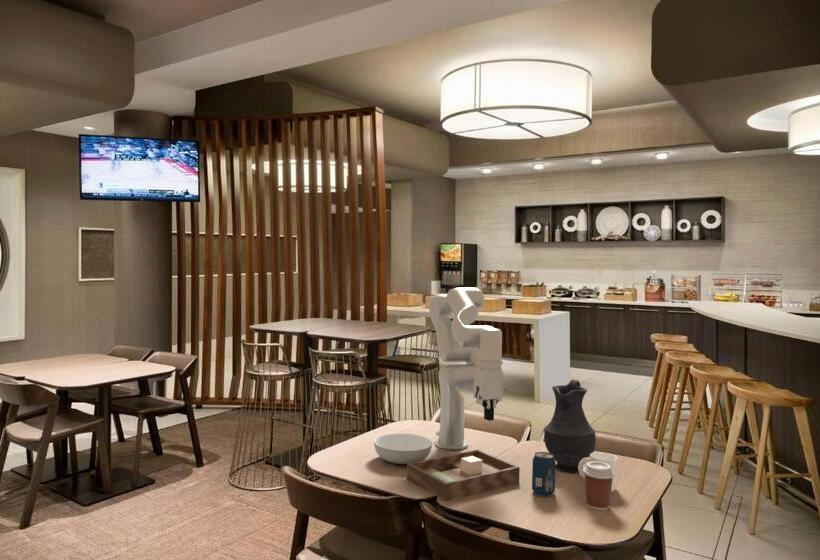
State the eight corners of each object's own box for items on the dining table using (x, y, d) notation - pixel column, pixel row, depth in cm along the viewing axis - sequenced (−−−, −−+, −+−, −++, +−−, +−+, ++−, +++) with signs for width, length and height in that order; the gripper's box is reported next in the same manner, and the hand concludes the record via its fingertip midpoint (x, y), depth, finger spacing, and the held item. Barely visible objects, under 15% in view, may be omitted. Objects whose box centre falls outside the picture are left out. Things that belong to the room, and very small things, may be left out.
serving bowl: (408, 474, 192) (408, 454, 192) (361, 461, 205) (362, 442, 205) (443, 459, 209) (443, 440, 208) (397, 447, 221) (398, 429, 221)
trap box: (477, 463, 204) (477, 449, 204) (519, 482, 187) (519, 467, 187) (406, 478, 188) (407, 463, 188) (445, 501, 170) (445, 484, 170)
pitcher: (537, 471, 197) (540, 384, 197) (552, 455, 216) (554, 375, 215) (589, 481, 189) (592, 390, 189) (600, 463, 208) (602, 380, 207)
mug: (574, 486, 184) (574, 454, 184) (581, 479, 191) (582, 448, 191) (612, 495, 178) (613, 462, 178) (619, 487, 185) (619, 455, 184)
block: (460, 470, 190) (460, 458, 190) (472, 467, 193) (472, 455, 193) (470, 474, 186) (470, 462, 186) (482, 472, 189) (482, 460, 189)
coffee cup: (607, 499, 174) (608, 460, 174) (619, 512, 165) (620, 470, 165) (577, 499, 174) (578, 459, 174) (587, 512, 165) (588, 470, 165)
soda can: (538, 487, 183) (539, 449, 183) (558, 493, 179) (559, 454, 178) (527, 493, 178) (528, 454, 177) (548, 499, 173) (549, 460, 173)
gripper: (499, 362, 200) (497, 414, 200) (465, 365, 192) (464, 420, 192) (514, 365, 194) (513, 419, 194) (480, 368, 185) (479, 425, 185)
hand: (488, 419), depth 193 cm, fingers closed
